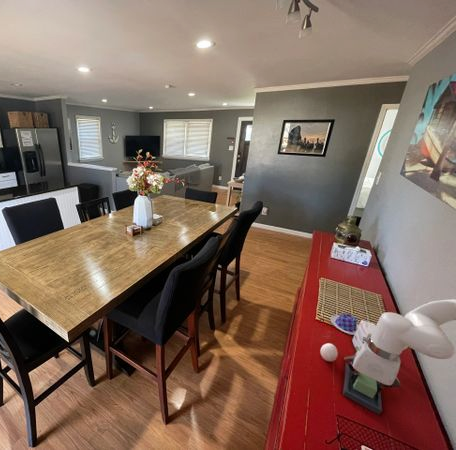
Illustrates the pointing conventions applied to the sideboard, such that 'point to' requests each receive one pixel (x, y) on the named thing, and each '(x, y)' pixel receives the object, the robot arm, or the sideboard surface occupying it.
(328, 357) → the egg
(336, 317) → the patterned bowl
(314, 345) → the sideboard surface
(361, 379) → the green block
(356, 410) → the sideboard surface
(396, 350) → the robot arm
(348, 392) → the holder
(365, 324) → the ink box
